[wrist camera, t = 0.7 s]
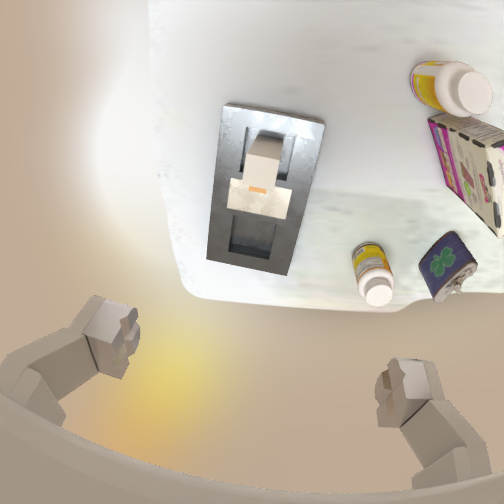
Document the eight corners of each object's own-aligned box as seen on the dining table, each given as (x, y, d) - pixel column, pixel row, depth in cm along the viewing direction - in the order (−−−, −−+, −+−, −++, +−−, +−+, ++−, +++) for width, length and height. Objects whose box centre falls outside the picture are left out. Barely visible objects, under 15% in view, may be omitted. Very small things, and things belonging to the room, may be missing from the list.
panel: (228, 103, 39) (223, 105, 37) (323, 121, 39) (325, 125, 36) (210, 249, 53) (206, 259, 50) (287, 264, 52) (286, 276, 50)
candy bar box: (471, 175, 39) (528, 227, 25) (445, 186, 41) (497, 242, 27) (453, 107, 34) (519, 135, 20) (425, 117, 36) (484, 148, 22)
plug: (257, 134, 41) (246, 153, 33) (283, 139, 41) (279, 160, 32) (252, 164, 43) (240, 190, 35) (277, 169, 43) (272, 197, 35)
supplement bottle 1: (382, 268, 50) (394, 310, 42) (350, 269, 51) (358, 312, 43) (385, 240, 47) (401, 279, 39) (352, 241, 48) (361, 281, 40)
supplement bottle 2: (433, 115, 35) (477, 136, 25) (400, 84, 34) (438, 92, 23) (458, 83, 32) (508, 95, 21) (425, 51, 31) (470, 49, 20)
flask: (423, 272, 49) (442, 314, 40) (413, 264, 49) (432, 306, 40) (459, 235, 44) (485, 273, 36) (450, 226, 44) (476, 263, 35)
